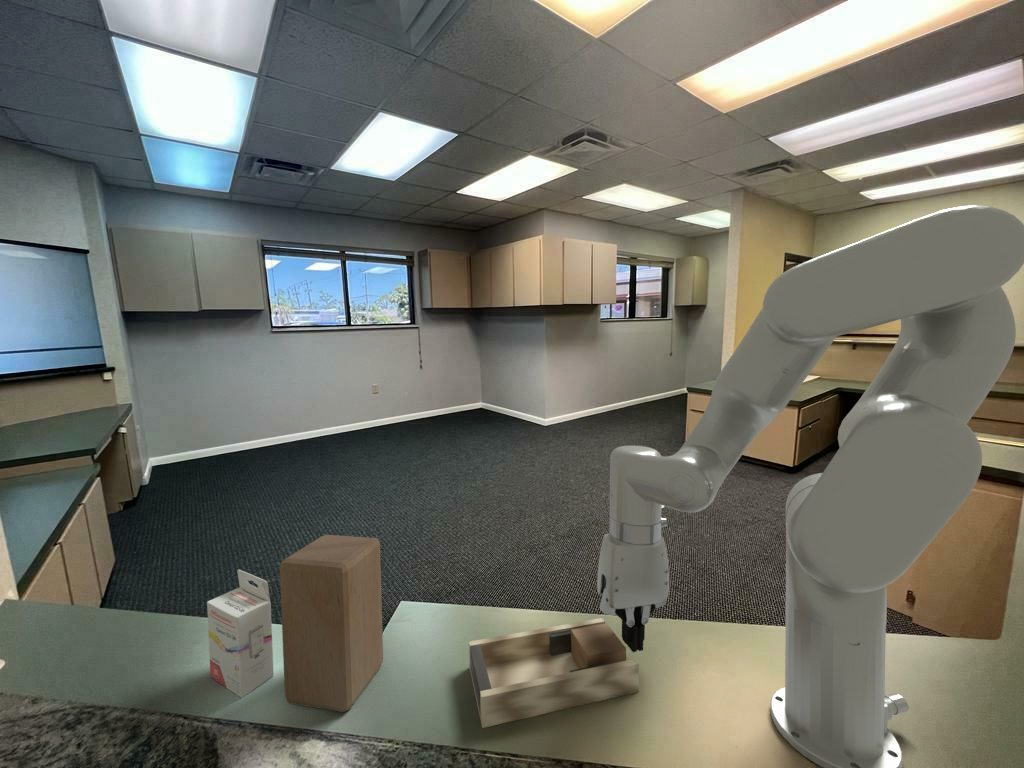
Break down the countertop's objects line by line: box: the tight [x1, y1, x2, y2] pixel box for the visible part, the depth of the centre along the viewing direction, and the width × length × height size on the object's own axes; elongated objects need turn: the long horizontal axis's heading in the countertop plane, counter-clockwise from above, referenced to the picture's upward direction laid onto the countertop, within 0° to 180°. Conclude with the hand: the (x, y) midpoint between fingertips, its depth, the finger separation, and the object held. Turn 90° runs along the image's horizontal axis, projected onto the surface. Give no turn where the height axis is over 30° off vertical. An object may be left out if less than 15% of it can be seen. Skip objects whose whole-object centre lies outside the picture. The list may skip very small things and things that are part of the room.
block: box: [279, 534, 384, 713], centre depth 60 cm, size 10×10×20 cm
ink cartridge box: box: [206, 569, 275, 698], centre depth 61 cm, size 9×5×15 cm, turn 62°
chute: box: [468, 617, 640, 729], centre depth 60 cm, size 22×11×4 cm, turn 104°
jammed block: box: [571, 622, 627, 669], centre depth 62 cm, size 6×6×4 cm
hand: (632, 645), depth 64 cm, fingers closed
